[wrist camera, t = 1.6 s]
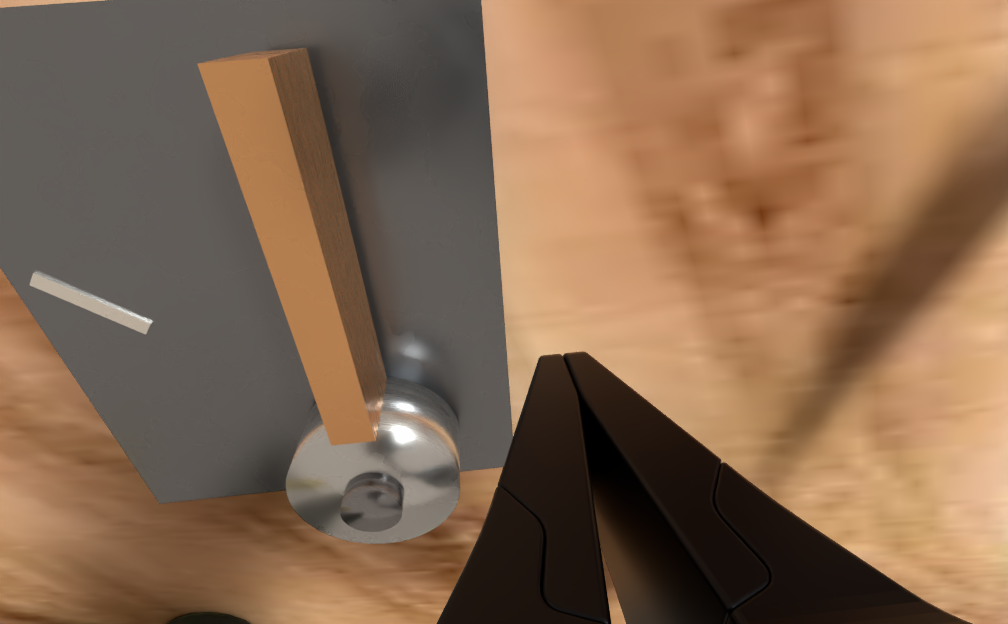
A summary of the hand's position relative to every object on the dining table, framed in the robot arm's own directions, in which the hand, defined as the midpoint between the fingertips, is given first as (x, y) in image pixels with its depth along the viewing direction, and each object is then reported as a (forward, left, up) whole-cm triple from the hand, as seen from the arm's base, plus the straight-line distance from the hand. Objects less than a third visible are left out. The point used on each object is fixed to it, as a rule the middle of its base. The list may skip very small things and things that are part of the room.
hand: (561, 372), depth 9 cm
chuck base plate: (-4, +10, -11) cm, 15 cm away
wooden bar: (-5, +7, -10) cm, 13 cm away
